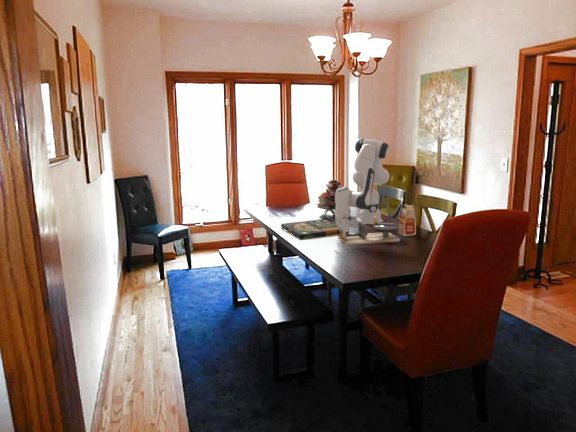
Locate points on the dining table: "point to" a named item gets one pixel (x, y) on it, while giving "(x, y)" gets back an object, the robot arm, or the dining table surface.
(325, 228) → the pizza box
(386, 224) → the handwheel
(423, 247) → the dining table surface
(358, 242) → the base board
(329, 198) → the rose bouquet
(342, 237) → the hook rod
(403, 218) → the milk carton
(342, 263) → the dining table surface
